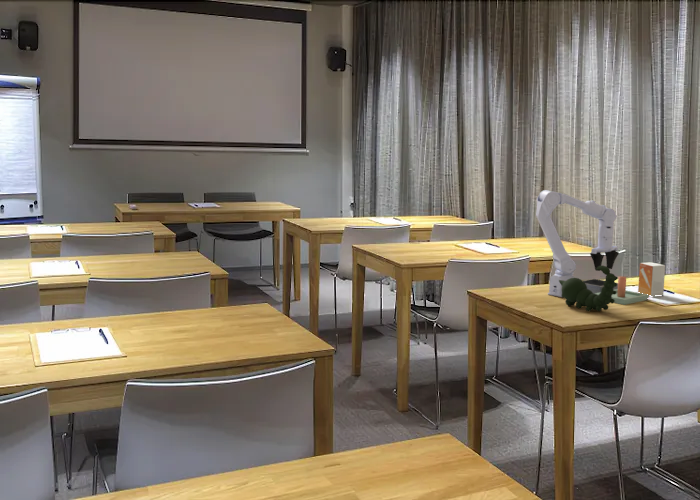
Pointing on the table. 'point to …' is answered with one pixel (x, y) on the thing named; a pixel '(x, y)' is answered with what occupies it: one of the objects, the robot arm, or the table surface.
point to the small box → (651, 278)
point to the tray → (629, 297)
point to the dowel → (621, 286)
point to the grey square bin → (596, 285)
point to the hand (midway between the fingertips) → (603, 269)
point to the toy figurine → (589, 292)
